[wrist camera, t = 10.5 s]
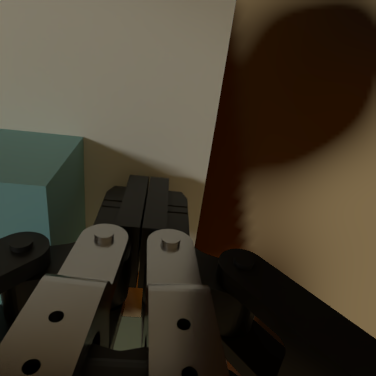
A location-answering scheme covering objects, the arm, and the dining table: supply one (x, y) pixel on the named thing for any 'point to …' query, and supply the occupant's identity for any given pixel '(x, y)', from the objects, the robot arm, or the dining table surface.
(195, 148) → the tray
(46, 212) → the block
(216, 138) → the dining table surface
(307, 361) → the robot arm
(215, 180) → the dining table surface
